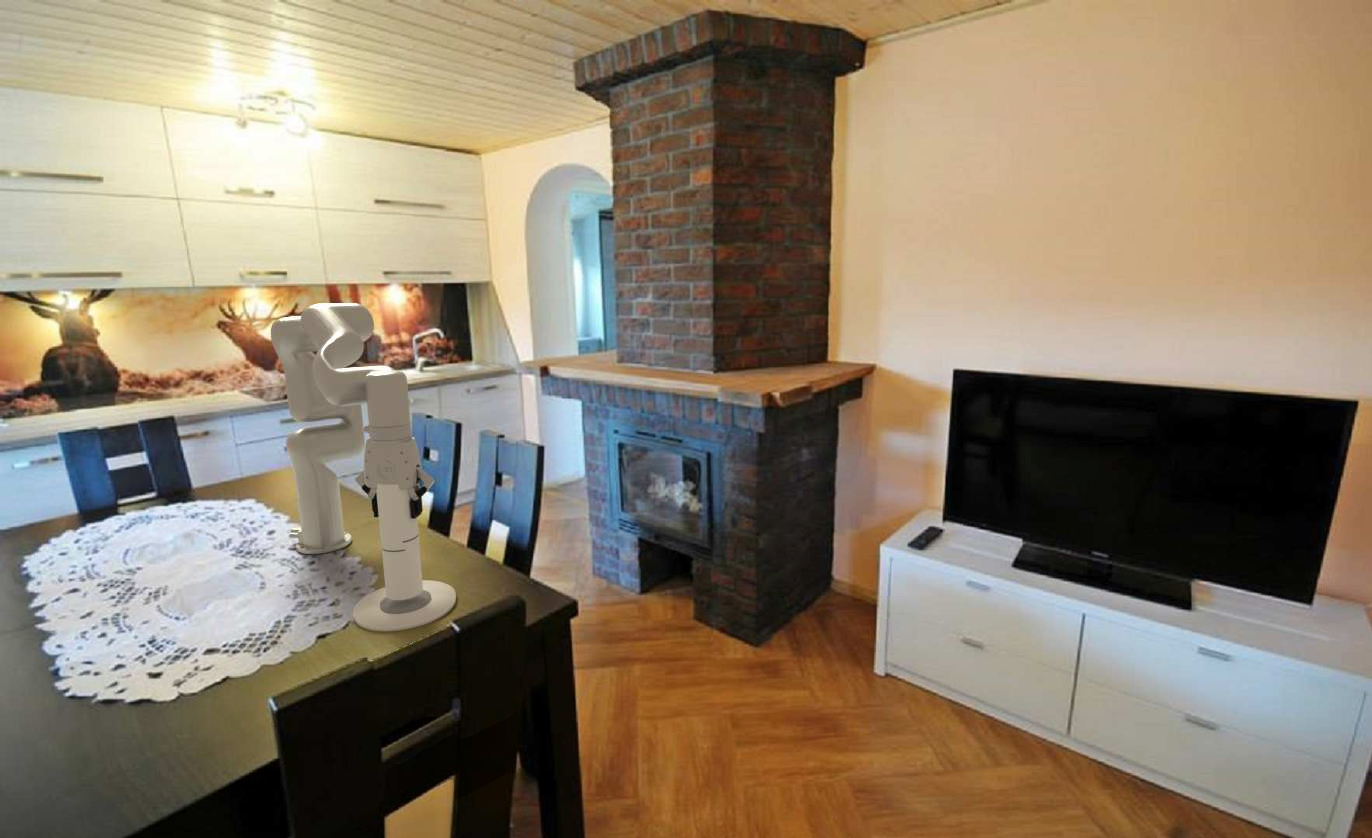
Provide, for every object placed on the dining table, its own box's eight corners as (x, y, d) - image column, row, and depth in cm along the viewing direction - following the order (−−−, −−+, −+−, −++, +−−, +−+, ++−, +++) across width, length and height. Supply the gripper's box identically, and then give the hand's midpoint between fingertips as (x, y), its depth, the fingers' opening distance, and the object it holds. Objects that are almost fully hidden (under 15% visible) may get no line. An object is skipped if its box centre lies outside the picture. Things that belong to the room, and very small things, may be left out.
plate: (332, 629, 123) (331, 622, 123) (385, 582, 143) (385, 576, 142) (430, 633, 122) (429, 627, 122) (470, 586, 142) (470, 580, 141)
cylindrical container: (428, 591, 132) (420, 479, 127) (394, 603, 127) (384, 487, 122) (414, 580, 137) (405, 472, 131) (380, 591, 132) (369, 479, 126)
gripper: (337, 435, 121) (346, 520, 125) (424, 438, 120) (430, 524, 124) (359, 427, 129) (367, 507, 132) (441, 429, 128) (447, 510, 131)
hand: (398, 515), depth 128 cm, fingers closed on cylindrical container, 7 cm apart
